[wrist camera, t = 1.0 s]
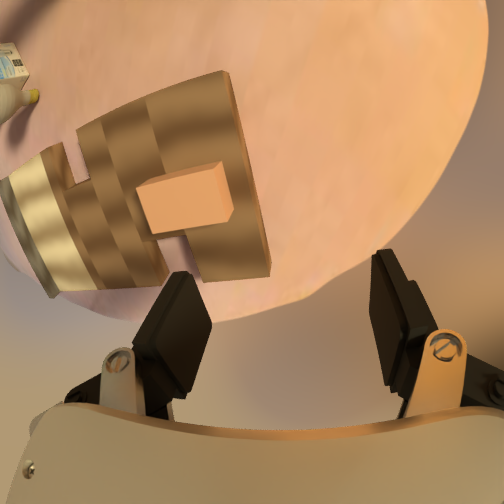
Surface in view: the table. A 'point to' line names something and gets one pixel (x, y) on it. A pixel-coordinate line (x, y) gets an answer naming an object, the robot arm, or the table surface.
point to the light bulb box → (12, 66)
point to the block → (186, 198)
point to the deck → (126, 197)
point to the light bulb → (14, 100)
